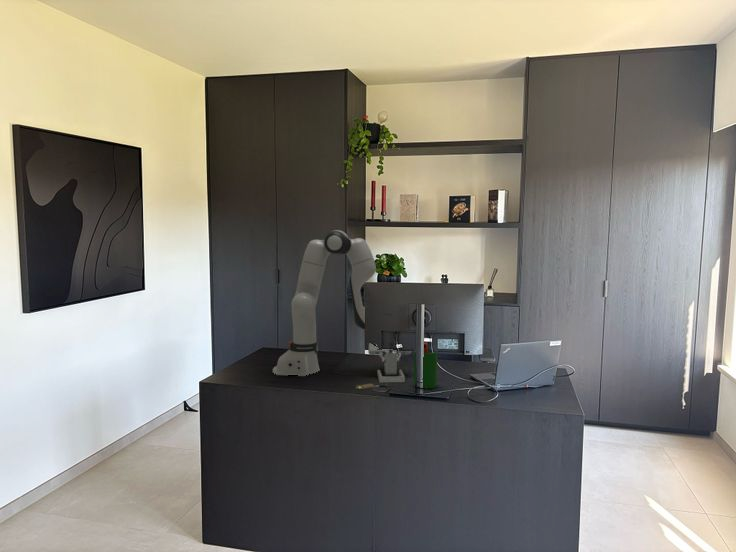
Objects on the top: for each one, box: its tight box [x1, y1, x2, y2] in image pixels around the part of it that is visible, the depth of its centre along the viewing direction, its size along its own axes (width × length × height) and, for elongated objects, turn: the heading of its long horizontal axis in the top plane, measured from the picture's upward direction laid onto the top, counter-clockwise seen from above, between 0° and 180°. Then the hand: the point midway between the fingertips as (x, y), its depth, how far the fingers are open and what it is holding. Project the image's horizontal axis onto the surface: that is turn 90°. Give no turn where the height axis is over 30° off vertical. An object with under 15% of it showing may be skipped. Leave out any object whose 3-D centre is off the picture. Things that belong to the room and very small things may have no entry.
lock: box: [384, 349, 398, 376], centre depth 244 cm, size 5×6×11 cm
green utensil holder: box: [413, 342, 439, 390], centre depth 233 cm, size 10×9×20 cm
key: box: [355, 383, 375, 390], centre depth 232 cm, size 8×3×1 cm, turn 119°
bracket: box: [376, 369, 406, 384], centre depth 244 cm, size 11×11×2 cm
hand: (390, 361), depth 244 cm, fingers closed on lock, 5 cm apart
